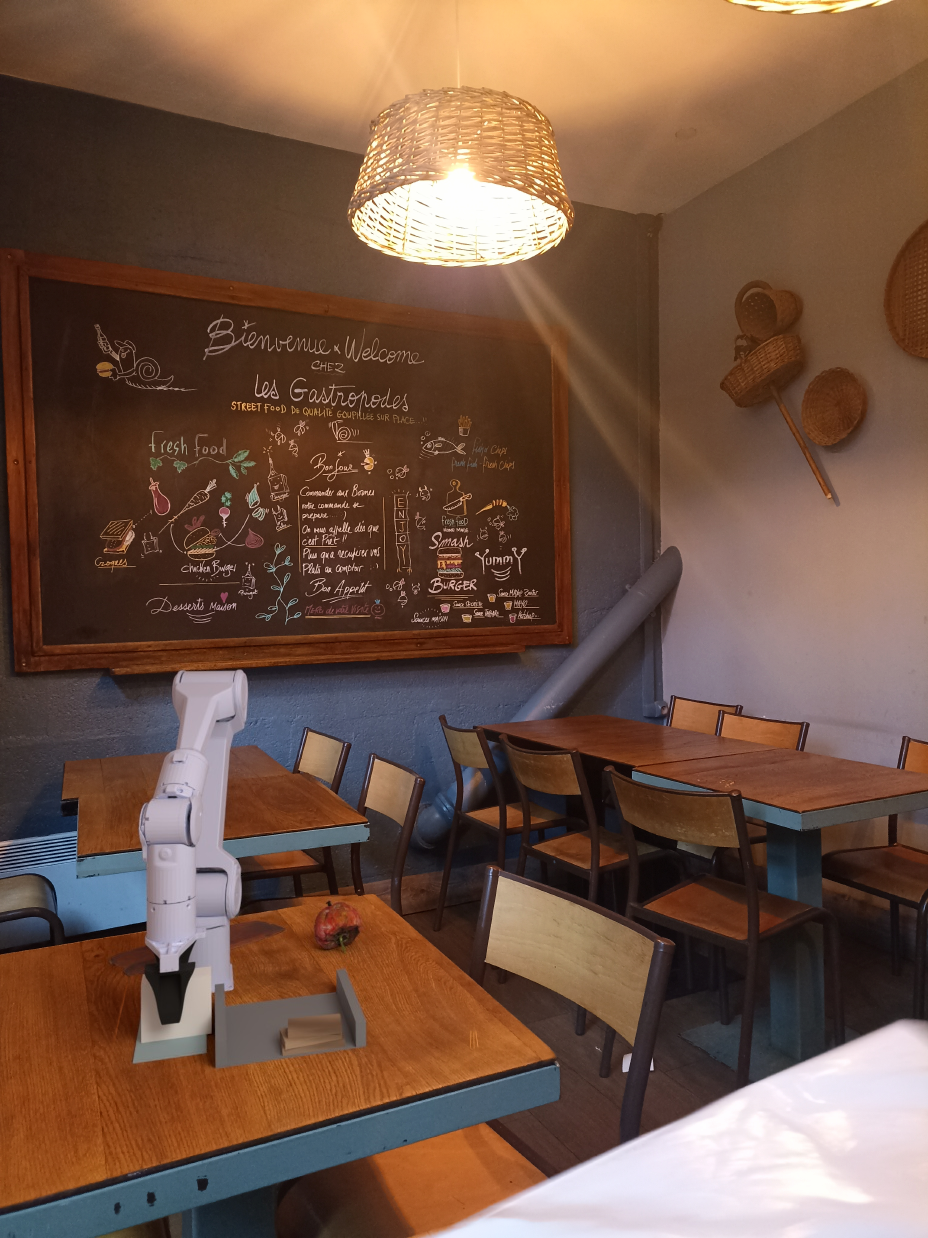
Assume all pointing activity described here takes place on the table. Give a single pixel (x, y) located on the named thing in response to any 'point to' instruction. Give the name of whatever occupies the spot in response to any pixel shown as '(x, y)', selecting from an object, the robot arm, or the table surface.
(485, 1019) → the table surface
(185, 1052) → the mat
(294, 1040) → the offcut stack
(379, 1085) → the table surface
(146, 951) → the wooden tablet
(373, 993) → the table surface
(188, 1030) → the white rectangular block
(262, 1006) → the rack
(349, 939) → the rotten apple
